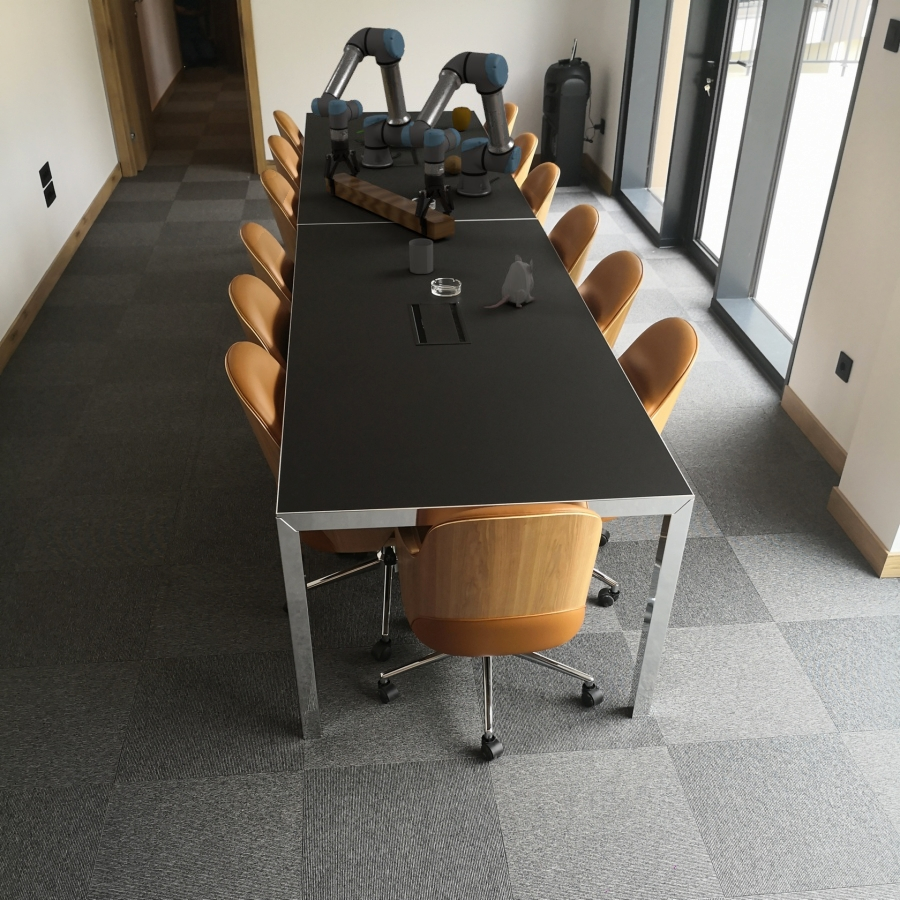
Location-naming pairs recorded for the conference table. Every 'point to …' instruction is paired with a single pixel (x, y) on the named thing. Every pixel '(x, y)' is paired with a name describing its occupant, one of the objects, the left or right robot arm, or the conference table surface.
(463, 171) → the right robot arm
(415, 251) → the cup
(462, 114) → the yellow bell pepper
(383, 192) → the wide beam
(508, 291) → the toy
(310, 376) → the conference table surface
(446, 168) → the potato
